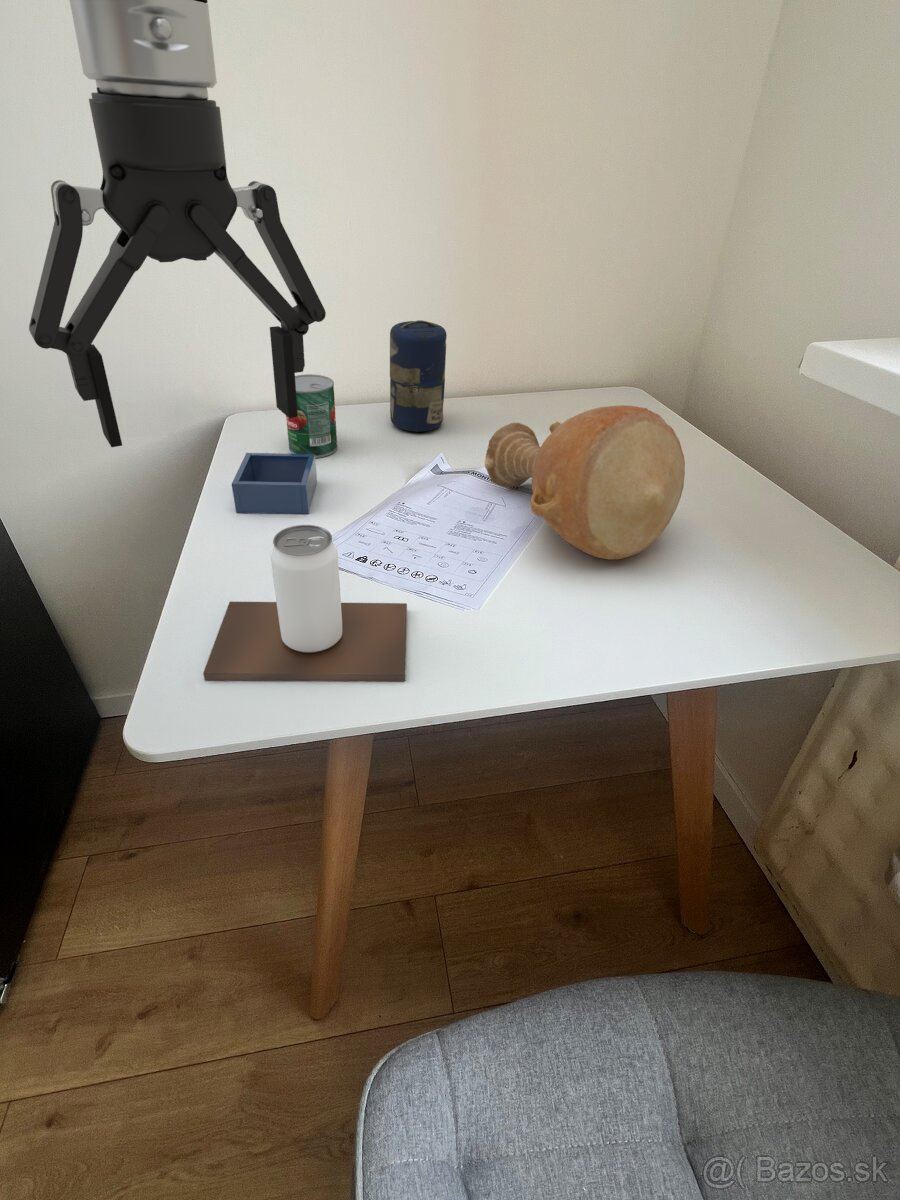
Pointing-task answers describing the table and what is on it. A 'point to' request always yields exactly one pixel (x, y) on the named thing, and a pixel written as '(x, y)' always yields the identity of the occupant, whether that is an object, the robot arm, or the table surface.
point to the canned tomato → (313, 417)
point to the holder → (275, 483)
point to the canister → (417, 375)
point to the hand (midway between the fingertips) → (205, 425)
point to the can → (307, 588)
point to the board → (261, 654)
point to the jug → (597, 476)
